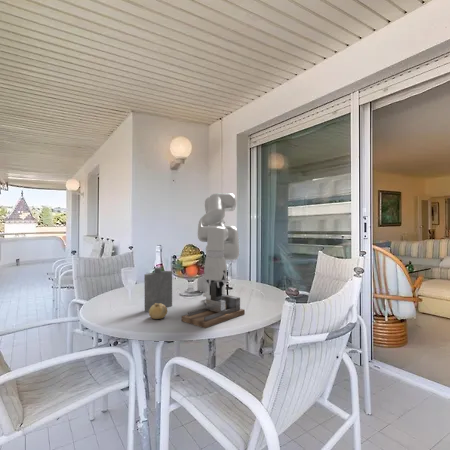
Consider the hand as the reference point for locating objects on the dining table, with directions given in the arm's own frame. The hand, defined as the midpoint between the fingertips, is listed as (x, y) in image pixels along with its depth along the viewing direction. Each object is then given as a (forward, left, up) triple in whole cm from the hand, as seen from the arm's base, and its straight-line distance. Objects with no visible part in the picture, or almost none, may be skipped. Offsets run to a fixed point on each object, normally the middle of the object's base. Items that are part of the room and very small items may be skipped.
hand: (215, 295), depth 143 cm
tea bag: (-42, +34, -10) cm, 55 cm away
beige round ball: (0, +4, -6) cm, 7 cm away
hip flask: (-31, -8, -10) cm, 34 cm away
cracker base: (0, -1, -10) cm, 10 cm away
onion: (-18, -18, -10) cm, 27 cm away
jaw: (0, 0, -7) cm, 7 cm away
